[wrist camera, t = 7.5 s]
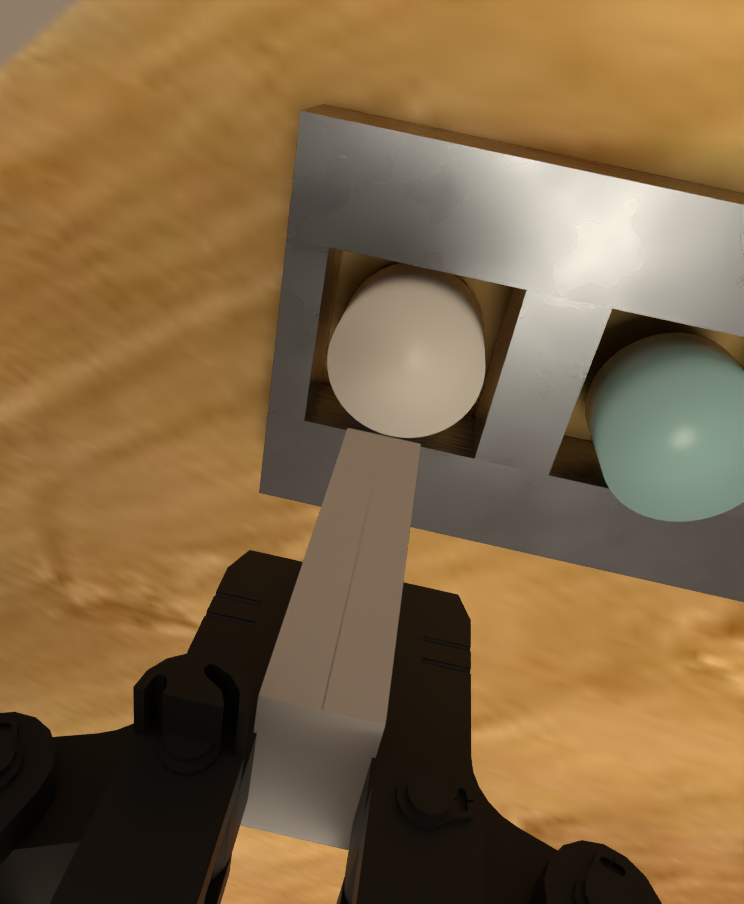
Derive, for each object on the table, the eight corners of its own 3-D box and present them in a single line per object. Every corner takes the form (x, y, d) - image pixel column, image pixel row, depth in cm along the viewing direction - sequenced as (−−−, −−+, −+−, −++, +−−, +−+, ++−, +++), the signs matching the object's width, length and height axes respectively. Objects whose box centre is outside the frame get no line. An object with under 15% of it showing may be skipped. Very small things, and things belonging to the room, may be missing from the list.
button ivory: (334, 379, 23) (317, 419, 20) (356, 248, 21) (339, 274, 18) (464, 408, 23) (462, 452, 20) (500, 279, 20) (504, 310, 18)
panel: (280, 449, 25) (259, 492, 23) (323, 104, 19) (300, 110, 17) (898, 587, 25) (946, 647, 22) (1147, 279, 19) (1254, 313, 16)
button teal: (565, 449, 22) (577, 501, 19) (616, 317, 19) (638, 356, 17) (703, 480, 22) (734, 537, 19) (773, 351, 19) (819, 396, 17)
